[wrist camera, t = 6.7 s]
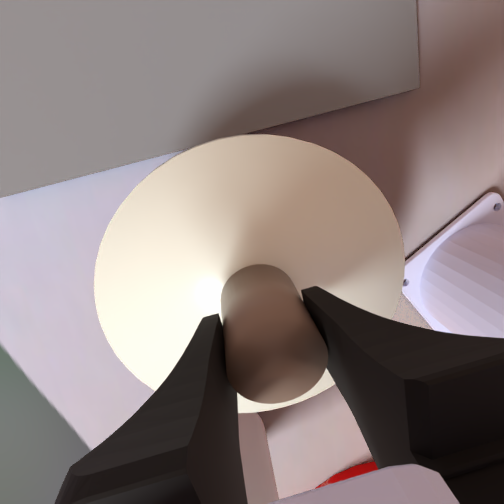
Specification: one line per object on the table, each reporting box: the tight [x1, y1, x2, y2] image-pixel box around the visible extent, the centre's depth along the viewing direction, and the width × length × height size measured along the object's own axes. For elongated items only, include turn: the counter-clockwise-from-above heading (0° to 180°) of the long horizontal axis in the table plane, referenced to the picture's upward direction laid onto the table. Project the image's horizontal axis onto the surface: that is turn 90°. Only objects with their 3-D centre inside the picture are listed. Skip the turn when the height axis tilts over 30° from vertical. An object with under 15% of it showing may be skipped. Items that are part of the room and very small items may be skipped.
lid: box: [94, 134, 405, 413], centre depth 12 cm, size 13×13×5 cm
